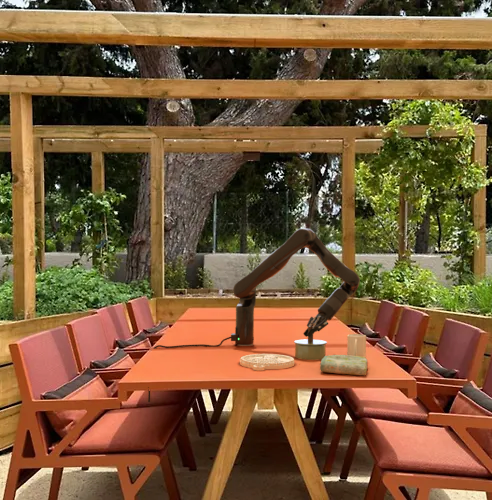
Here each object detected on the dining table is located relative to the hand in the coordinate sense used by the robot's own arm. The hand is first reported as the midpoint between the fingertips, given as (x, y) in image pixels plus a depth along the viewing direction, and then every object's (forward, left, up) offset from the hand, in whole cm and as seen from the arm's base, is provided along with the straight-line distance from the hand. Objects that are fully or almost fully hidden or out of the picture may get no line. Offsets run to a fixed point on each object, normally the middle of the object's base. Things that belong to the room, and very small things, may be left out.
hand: (306, 335), depth 272 cm
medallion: (-18, -16, -11) cm, 26 cm away
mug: (+21, -10, -11) cm, 25 cm away
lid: (+2, +1, -3) cm, 4 cm away
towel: (+14, -26, -11) cm, 31 cm away
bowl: (+2, +1, -10) cm, 11 cm away
